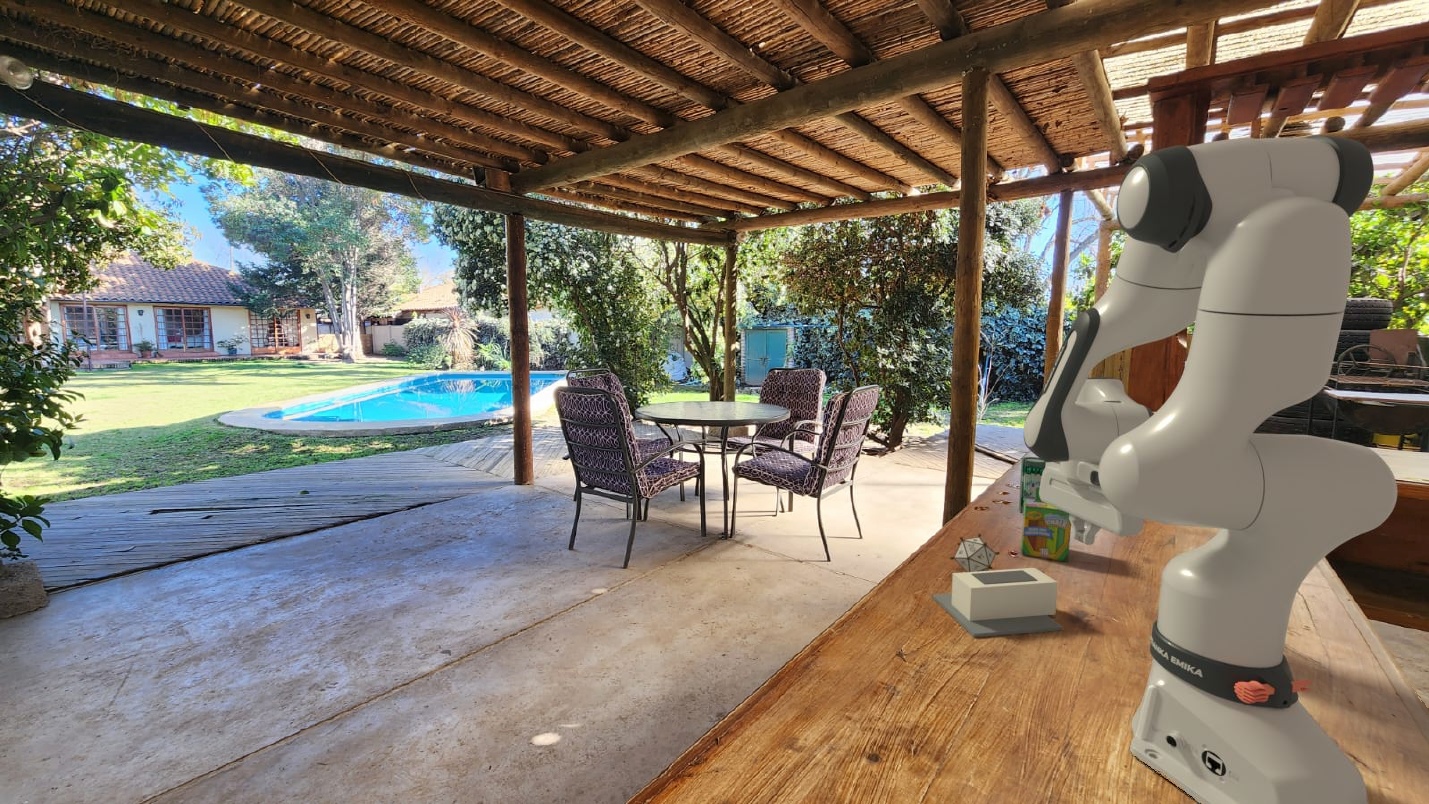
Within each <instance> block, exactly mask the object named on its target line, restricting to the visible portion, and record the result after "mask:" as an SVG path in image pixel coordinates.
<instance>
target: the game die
mask: <svg viewBox="0 0 1429 804" xmlns="http://www.w3.org/2000/svg"><path fill="white" fill-rule="evenodd" d="M959 539H960V542H957V546H958V548H956V551H955V554H954V556H950V557H948V558H949V559H950V560H955V562H957V564H958V565H959V566H961V568H963V570H964V571H965V572H978V571H990V570H994V568H993V566H992V563H993V562H994V559H995V557H996V555H998V556H999V555H1000V554H1001V553H1000V552H999V551H996V552H995V551H994V550H993V548H991V547H990V546H989V545H988V542H986V541H984V540H983V539H982V538H981V533H978V534H977V536H976V537H971V538H963V537H962V536H959ZM989 569H990V570H989Z"/></svg>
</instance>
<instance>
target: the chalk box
mask: <svg viewBox="0 0 1429 804" xmlns="http://www.w3.org/2000/svg"><path fill="white" fill-rule="evenodd" d="M1039 489H1040V487H1037V488H1036V494H1035V497H1032V496H1024V510H1023V514H1022V526H1021V528H1022V529H1021V530H1022V531H1021V539H1020V553H1021V555H1023V556H1030V557H1035V558H1042V559H1047V560H1053V561H1059V562H1063V561H1064V563H1066V562H1067V563H1068V562H1069V552H1070V540H1071V532H1072V531H1071V530H1072V525H1071V523H1070V520H1069V513H1067V512H1065V511H1062V510H1060V509H1058V508H1056V507H1053V506H1051V505H1049V504H1047V503H1044V502H1042V501H1041V499H1040V496H1039Z"/></svg>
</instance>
